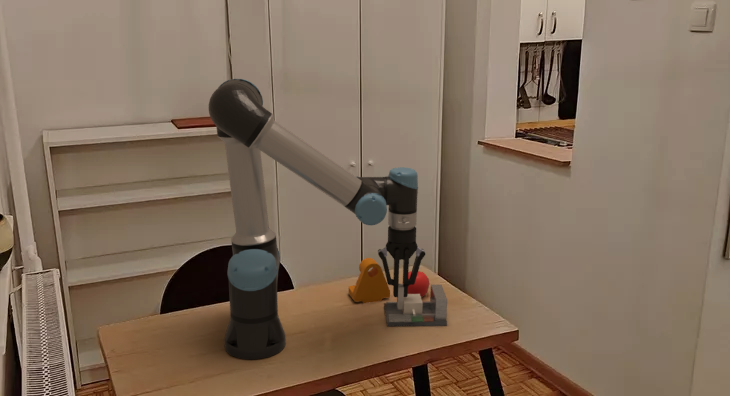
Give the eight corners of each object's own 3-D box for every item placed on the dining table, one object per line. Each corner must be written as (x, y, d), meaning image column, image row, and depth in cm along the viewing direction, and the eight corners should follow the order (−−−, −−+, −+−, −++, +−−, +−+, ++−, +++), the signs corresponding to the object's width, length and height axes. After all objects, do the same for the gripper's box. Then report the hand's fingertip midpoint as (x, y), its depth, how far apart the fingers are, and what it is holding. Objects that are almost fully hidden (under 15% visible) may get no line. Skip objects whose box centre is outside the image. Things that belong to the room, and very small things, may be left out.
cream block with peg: (404, 321, 177) (405, 307, 176) (401, 307, 185) (401, 294, 184) (423, 321, 177) (424, 307, 176) (419, 307, 185) (419, 293, 184)
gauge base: (387, 326, 177) (387, 301, 175) (383, 307, 188) (384, 283, 186) (446, 325, 177) (447, 301, 175) (439, 306, 189) (440, 283, 187)
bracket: (381, 290, 200) (382, 253, 196) (390, 300, 193) (390, 261, 190) (347, 294, 196) (347, 256, 193) (354, 304, 190) (355, 265, 186)
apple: (415, 287, 202) (416, 263, 200) (434, 296, 196) (435, 271, 194) (396, 294, 197) (397, 269, 195) (415, 303, 191) (416, 277, 189)
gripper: (378, 230, 171) (377, 313, 178) (428, 230, 172) (425, 313, 179) (376, 221, 179) (375, 301, 185) (424, 221, 179) (421, 301, 186)
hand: (400, 307), depth 182 cm, fingers closed
